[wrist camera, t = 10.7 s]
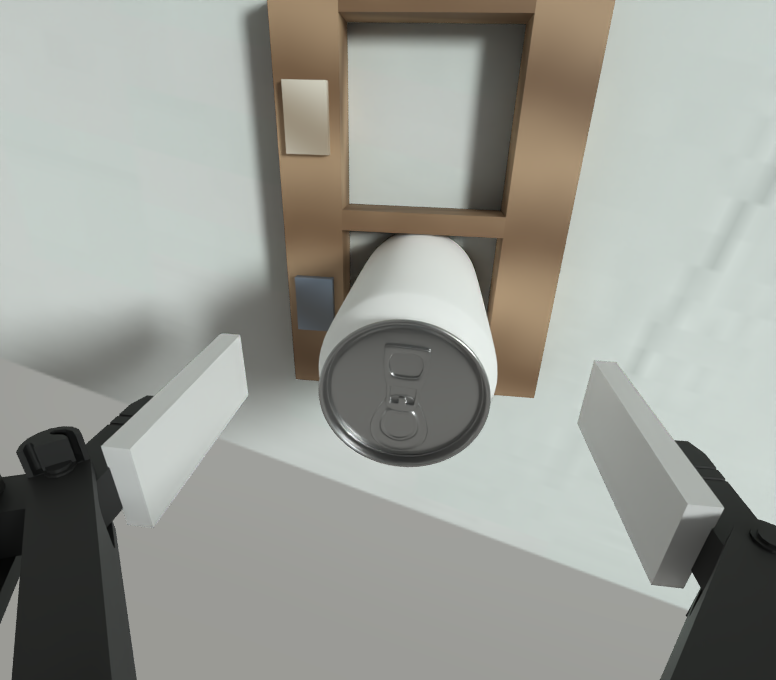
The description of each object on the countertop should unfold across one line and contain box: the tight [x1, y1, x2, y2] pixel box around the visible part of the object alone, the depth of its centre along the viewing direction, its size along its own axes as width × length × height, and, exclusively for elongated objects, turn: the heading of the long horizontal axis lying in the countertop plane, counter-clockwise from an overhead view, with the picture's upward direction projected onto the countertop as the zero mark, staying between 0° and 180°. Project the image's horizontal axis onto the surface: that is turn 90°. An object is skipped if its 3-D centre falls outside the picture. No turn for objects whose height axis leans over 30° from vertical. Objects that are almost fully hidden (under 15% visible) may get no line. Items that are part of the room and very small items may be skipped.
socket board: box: [267, 0, 615, 398], centre depth 22 cm, size 19×14×2 cm
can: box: [319, 233, 497, 467], centre depth 20 cm, size 6×6×12 cm
